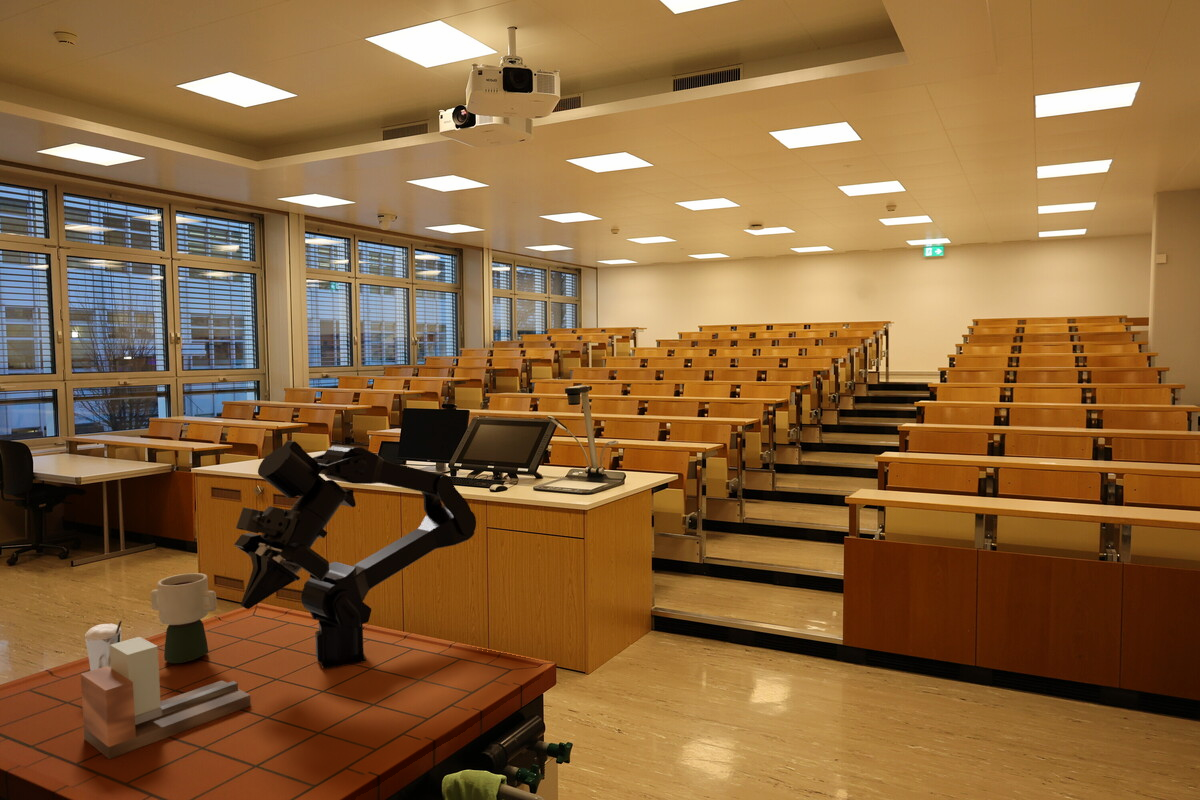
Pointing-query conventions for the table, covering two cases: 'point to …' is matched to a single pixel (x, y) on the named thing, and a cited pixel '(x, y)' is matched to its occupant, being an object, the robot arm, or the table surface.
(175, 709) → the track
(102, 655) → the milkshake
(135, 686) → the block
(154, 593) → the character mug
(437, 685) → the table surface
